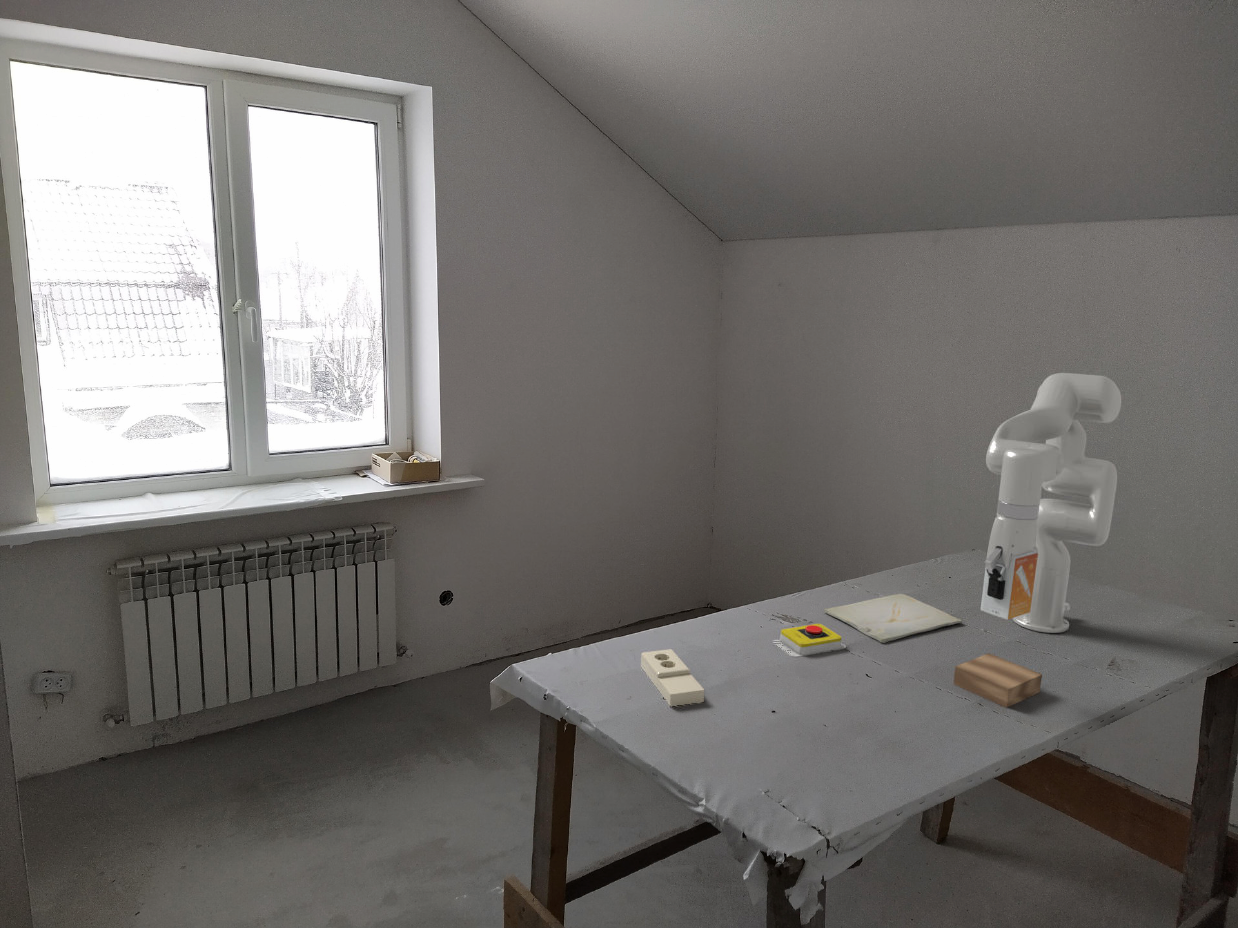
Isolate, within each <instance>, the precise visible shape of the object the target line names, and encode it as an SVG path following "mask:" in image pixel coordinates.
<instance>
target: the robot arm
mask: <svg viewBox="0 0 1238 928" xmlns="http://www.w3.org/2000/svg"><path fill="white" fill-rule="evenodd" d="M1036 392H1037V393H1036V397H1035V399H1034V401H1033V403H1032V405H1031V407H1030V409H1029V410H1026V411H1023V412H1021V413H1019V414H1017V415H1015V416H1012V417H1011V418H1008V419H1007V420H1005V421H1003V422H1002V423H1001V424H1000V425H999V426H998V427H997V429H996V431H995V432H994V434H993V436H992V439H991V440H990V442H989V445H988V447H987V451H986V456H985V464H986V467H987V469H988V470H989V471H990V472H991V473H993V474H994V475H998V476H1000V481H999V482H1000V483H999V484H1000V485H999V492H998V499H997V500H998V502H997V508H996V516H995V518H994V521H993V524H992V527H991V531H990V536H989V541H988V547H987V552H986V553H987V555H986V560H984V564H985V569H986V568H987V573H988V577H989V582H988V591H987V595H988V596H990V597H993V598H996V599H999V600H1002V599H1003V597H1004V588H1005V581H1004V580H1003V579H1004V577H1005V575H1006V569H1008V568H1010V564H1011V559H1012V557H1016V556H1020V555H1024V554H1027V553H1030V552H1033V551H1035V552H1038V558H1037V566H1036V573H1035V580H1034V588H1033V595H1032V602H1031V610H1030V613H1026V614H1023V615H1020V616H1017V617H1014V618H1012V620H1013V622H1015V623H1016V624H1017V625H1019V626H1021V627H1023V628H1025V629H1027V630H1030V631H1034V632H1040V633H1046V634H1050V633H1051V634H1060V633H1065V632H1066V631H1068V630H1069V628H1070V623H1069V620H1067V619H1066V618H1065V617H1064V614H1065V612H1067V611H1069V610H1070V609H1071V605H1070V604H1069V603H1068V602H1066V598H1067V590H1068V584H1069V576H1070V569H1071V554H1070V553H1069V550H1068V548H1067V546H1066V545H1065V544H1064V542H1069V543H1075V544H1080V545H1085V546H1086V545H1087V546H1093V547H1099V546H1102V545H1103V544H1105V543H1106V542H1107V541H1108V538H1109V535H1110V531H1111V524H1112V518H1113V511H1114V505H1115V498H1116V491H1117V484H1118V472H1117V471H1118V470H1117V469H1116V466H1115V465H1114V463H1113V462H1111V461H1108V460H1105V459H1101V458H1100V459H1099V458H1094V457H1093V458H1092V457H1086V455H1085V453H1086V446H1087V433H1086V430H1085V429H1084V427H1083V425H1082V424H1081V422H1090V423H1091V422H1093V423H1101V424H1102V423H1103V424H1107V423H1112V422H1114V421H1115V420H1116V419H1117V417H1118V416H1119V413H1120V412H1121V407H1122V395H1121V391H1120V389H1119V388H1118V386H1117V384H1116V383H1115V381H1114V380H1112V379H1111V378H1109V377H1107V376H1104V375H1098V374H1097V375H1096V374H1084V373H1071V372H1058V373H1054V374H1051V375H1049V376H1047V377H1046V378H1045V379H1044V380H1043V382H1042V384H1041V385H1040V386H1039V387H1038V389H1037V391H1036ZM1080 421H1081V422H1080ZM1043 441H1045V443H1040V442H1043ZM1043 490H1045V491H1046V492H1049V493H1053V494H1057V495H1063V496H1069V497H1070V496H1071V497H1076V498H1080V499H1081V498H1084V499H1087V500H1089V502H1090V503H1091V504H1087V503H1081V502H1075V501H1071V500H1064V499H1056V498H1041V497H1042V491H1043ZM1001 556H1002V559H1003V562H1005V564H1004V565H1002V564H999V563H996V562H997V561H998V560H999V558H1000V557H1001ZM996 566H997V567H1000V568H1002V570H1001V572H1000V573H999V571H998V570H997V569H996Z"/></svg>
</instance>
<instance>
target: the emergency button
mask: <svg viewBox="0 0 1238 928" xmlns="http://www.w3.org/2000/svg"><path fill="white" fill-rule="evenodd" d="M778 639H779V640H778ZM778 639H774V640H772V641H781V642H773V643H781V644H774V645H775V646H776V645H777V646H778V648H779V647H780V648H781V647H782V648H781V649H782V650H781V649H780V648H779V649H780V650H781V651H783V650H784V651H785V650H786V651H785V652H784V651H783V652H784V653H786V652H787V653H786V655H788V654H789V655H788V656H790V657H791V656H793V657H792V658H799V657H804V656H810V654H811V655H816V653H817V654H821V653H820V652H822V653H827V652H832V651H831V650H834V651H839V650H843V649H846V648H847V645H845V644H844V643H843V642H842V636H841V635H839V634H837V633H836V632H835V631H833V630H831V629H829V628H828V627H827V626H825V625H824V624H822V623H813V624H809V625H808V624H807V625H806V624H805V625H801V626H795V627H788V628H784V629H781V631H780V638H778ZM773 643H772V644H773ZM782 643H783V644H782ZM782 645H785V646H782ZM777 646H776V647H777ZM788 647H789V648H788ZM787 650H791V651H787ZM792 650H793V651H792ZM788 652H789V653H788ZM790 652H791V653H790Z"/></svg>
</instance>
